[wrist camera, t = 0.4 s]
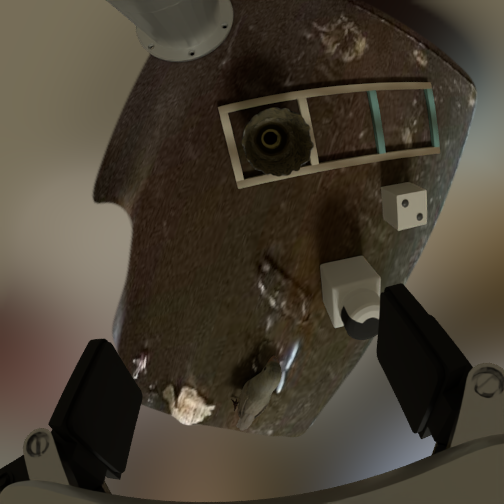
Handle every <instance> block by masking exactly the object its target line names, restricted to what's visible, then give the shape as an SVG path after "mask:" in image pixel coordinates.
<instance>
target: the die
mask: <svg viewBox="0 0 504 504" xmlns="http://www.w3.org/2000/svg"><path fill="white" fill-rule="evenodd" d="M381 195H382V208H383V219H384V220H385V221H386V222H388V223H389V224H390V225H392V226H393V227H394V228H395V229H397V230H398V231H399V230H403V229H407V228H412V227H416V226H420V225H424V224H427V195H426V190H425V189H423V188H421V187H419V186H417V185H414V184H412V183H410V182H406V183H400V184H395V185H389V186H384V187H381Z"/></svg>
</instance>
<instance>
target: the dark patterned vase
mask: <svg viewBox="0 0 504 504" xmlns="http://www.w3.org/2000/svg"><path fill="white" fill-rule="evenodd" d="M310 130H311V129H310V126H309V125H308V124H307V123H306V122H305V120H304V118H303V117H302V116H301V115H300V114H298V113H296V112H292V111H289V109H287V108H283V109H279V108H277V107H272V108H269V109H265V110H263V111H261V112H260V113H259V114H256V115H255V116H253V117H252V119H251V120H250V121H249V123H248V124H247V125H246V127H245V129H244V132H243V138H242V145H243V147H244V152H245V154H246V158H247V160H248V161H249V162H250V164H251V165H252V167H253V168H254V169H255V170H258V171H262V172H263V173H264V174H265V175H269V174H272V175H273V176H277V177H280V176H282V175H283V176H288V175H290V174H291V173H292V171H299V170H300V166H302V165H303V164H306V163H307V162H308V161H309V159H310V156H311V150H312V149H313V147H314V143H313V142H312V141H311V135H310V132H309V131H310ZM268 132H272V133H274V134H275V135H276V137H277V140H276V142H275V143H274V144H267V143H266V142H265V141H264V136H265V134H266V133H268Z"/></svg>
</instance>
